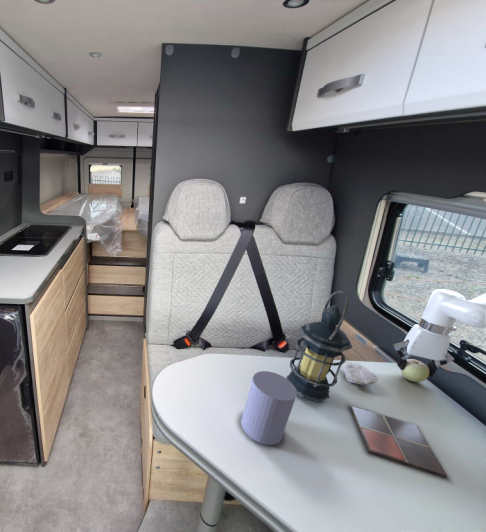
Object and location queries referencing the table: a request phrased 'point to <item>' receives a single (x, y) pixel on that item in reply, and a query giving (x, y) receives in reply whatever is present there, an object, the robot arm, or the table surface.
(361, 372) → the fossil
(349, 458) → the table surface
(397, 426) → the board
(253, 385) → the container
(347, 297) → the lantern
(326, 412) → the table surface
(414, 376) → the fruit
